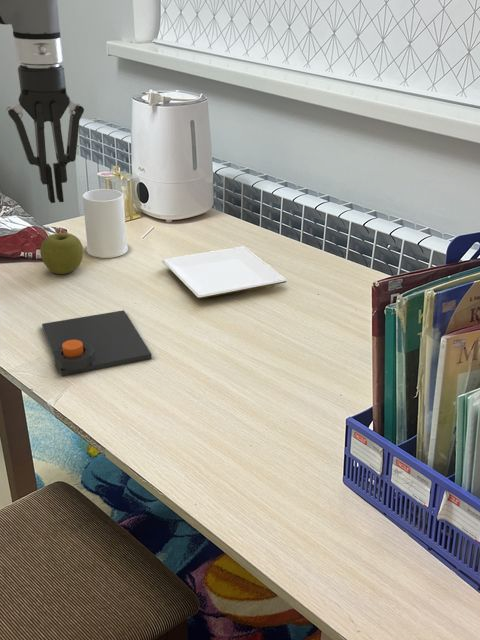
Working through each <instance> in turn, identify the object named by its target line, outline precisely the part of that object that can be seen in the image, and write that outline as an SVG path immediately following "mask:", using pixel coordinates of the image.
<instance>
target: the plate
mask: <svg viewBox="0 0 480 640" xmlns="http://www.w3.org/2000/svg"><path fill="white" fill-rule="evenodd" d="M161 262H162V264H164V265H165V266H166V267H167V268H168V269H169V270H170V272H171V273H173V274H174V275H175V276H176V277H177V279H179V281H181V283H182V284H184V286H185V287H186V288H187V289H188V290H189V291H190V292H192V294H193V295H194V296H195V297H196V298H197V299H199V300H201V299H202V300H203V299H207V298H212V297H217V296H223V295H227V294H233V293H238V292H243V291H249V290H253V289H259V288H264V287H269V286H270V287H271V286H274V285H275V286H276V285H281V284H285V283H287V282H288V279H287V278H286V277H284V276H283V275H282V274H281V273H280V272H278V271H277V270H275V269H274V268H273V267H272V266H271V265H269V264H268V263H266V262H265V261H264V260H263V259H261V257H259V256H257V255H256V254H255V253H254V252H253V251H251V250H250V249H249V248H247V247H246V246H244V245H242V246H241V245H240V246H235V247H228V248H223V249H222V248H221V249H216V250H211V251H210V250H209V251H204V252H198V253H191V254H185V255H178V256H171V257H166V258H163V259H161Z"/></svg>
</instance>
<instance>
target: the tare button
mask: <svg viewBox="0 0 480 640" xmlns="http://www.w3.org/2000/svg"><path fill="white" fill-rule="evenodd" d="M62 348H63V355H64V356H65V357H77V356H80V355H82V354H83V343H82V342H81V341H79V340H68V341H66V342H64V343H63V344H62Z"/></svg>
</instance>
